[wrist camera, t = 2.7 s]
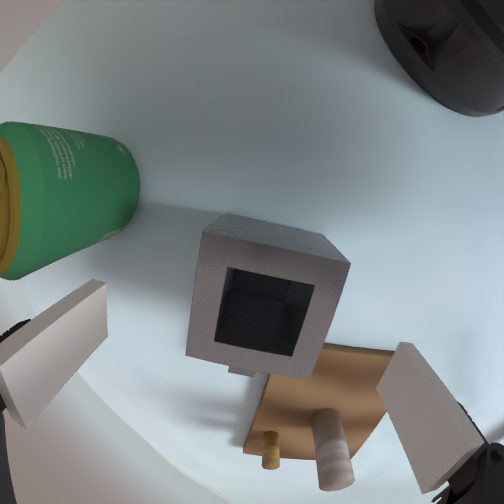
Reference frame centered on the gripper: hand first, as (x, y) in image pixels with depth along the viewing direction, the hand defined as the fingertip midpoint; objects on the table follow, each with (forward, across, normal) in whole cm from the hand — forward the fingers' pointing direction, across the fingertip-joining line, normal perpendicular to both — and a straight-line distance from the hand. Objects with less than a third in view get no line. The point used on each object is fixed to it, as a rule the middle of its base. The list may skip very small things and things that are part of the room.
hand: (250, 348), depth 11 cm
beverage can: (+10, -13, +4) cm, 17 cm away
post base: (+10, +10, -13) cm, 19 cm away
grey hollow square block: (+10, +1, -2) cm, 10 cm away
